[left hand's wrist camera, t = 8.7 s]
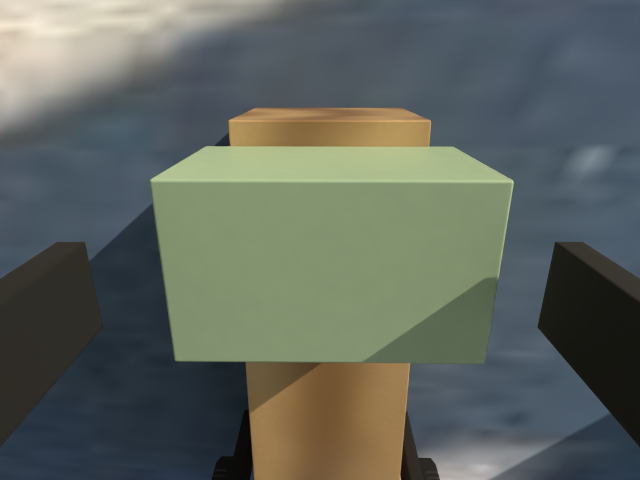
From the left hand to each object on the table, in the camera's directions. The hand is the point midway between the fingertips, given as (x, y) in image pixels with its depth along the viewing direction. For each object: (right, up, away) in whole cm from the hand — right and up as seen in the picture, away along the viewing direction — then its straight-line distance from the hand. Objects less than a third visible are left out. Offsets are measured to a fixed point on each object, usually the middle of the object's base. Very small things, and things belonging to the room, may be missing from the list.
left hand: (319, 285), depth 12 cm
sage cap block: (0, +2, +6) cm, 7 cm away
